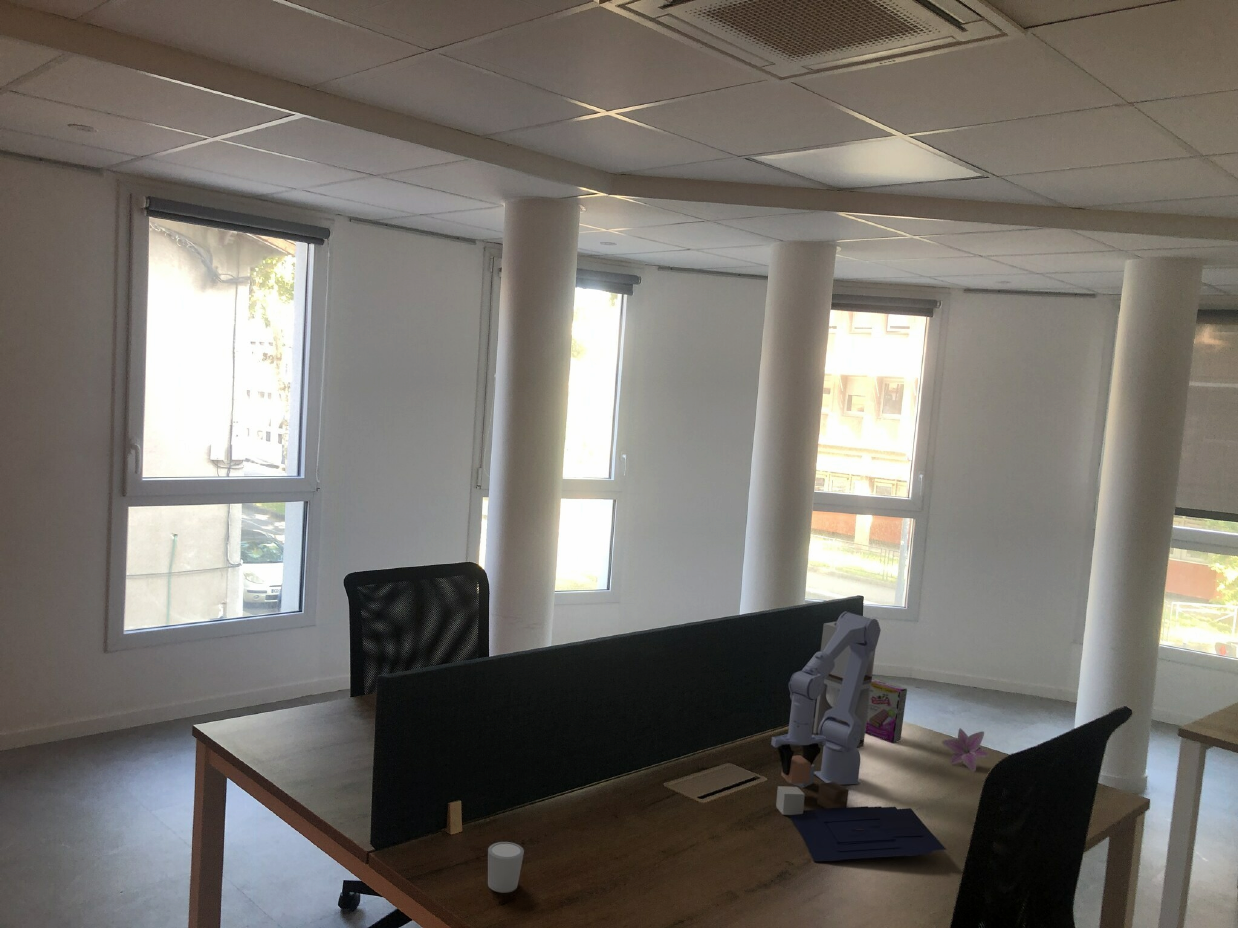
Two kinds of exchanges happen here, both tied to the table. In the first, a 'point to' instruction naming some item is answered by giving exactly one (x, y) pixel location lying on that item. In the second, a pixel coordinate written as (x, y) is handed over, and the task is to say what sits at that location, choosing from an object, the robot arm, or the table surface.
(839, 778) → the robot arm
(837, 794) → the walnut cube
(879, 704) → the candy bar box
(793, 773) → the terracotta cube
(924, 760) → the table surface
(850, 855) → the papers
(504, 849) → the grey cylinder
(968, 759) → the lily
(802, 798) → the offwhite cube
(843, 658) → the grey elongated piece
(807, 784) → the slate cube
